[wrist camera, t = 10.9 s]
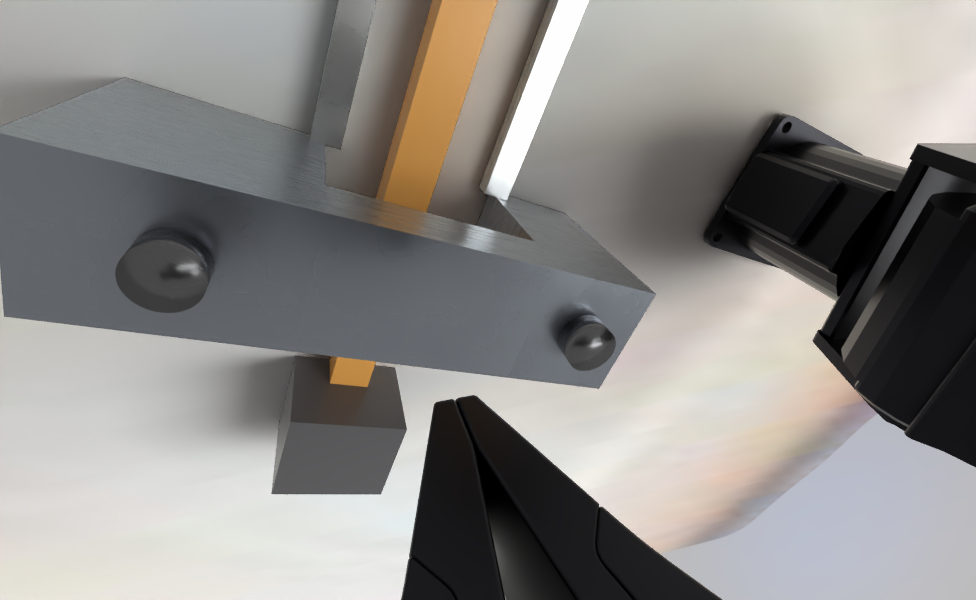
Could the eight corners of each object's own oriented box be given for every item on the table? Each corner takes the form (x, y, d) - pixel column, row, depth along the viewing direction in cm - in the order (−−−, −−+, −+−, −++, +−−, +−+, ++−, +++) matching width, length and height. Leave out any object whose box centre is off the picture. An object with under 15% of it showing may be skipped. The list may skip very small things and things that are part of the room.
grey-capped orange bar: (435, -214, 13) (474, -287, 9) (571, -121, 15) (642, -156, 11) (279, 422, 22) (271, 494, 19) (373, 428, 24) (380, 494, 21)
